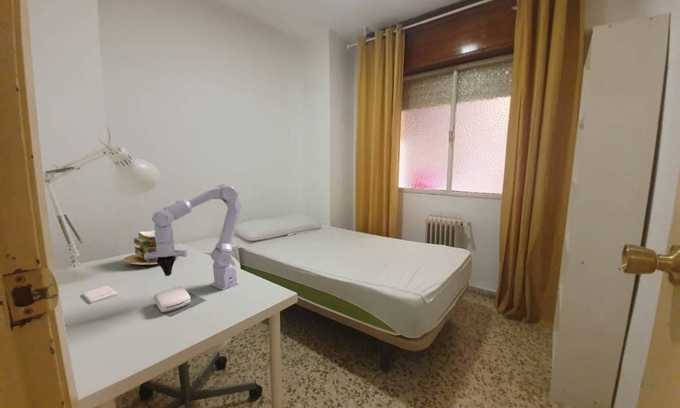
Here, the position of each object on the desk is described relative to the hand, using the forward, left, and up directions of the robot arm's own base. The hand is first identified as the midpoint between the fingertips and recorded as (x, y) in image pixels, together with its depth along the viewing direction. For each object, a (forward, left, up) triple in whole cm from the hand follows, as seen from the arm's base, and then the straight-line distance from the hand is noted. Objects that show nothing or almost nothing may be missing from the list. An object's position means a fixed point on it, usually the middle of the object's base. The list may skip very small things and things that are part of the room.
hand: (168, 274), depth 103 cm
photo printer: (0, 0, -8) cm, 8 cm away
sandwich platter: (+55, -16, -10) cm, 58 cm away
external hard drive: (+28, +14, -11) cm, 33 cm away
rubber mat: (-7, 0, -10) cm, 12 cm away
